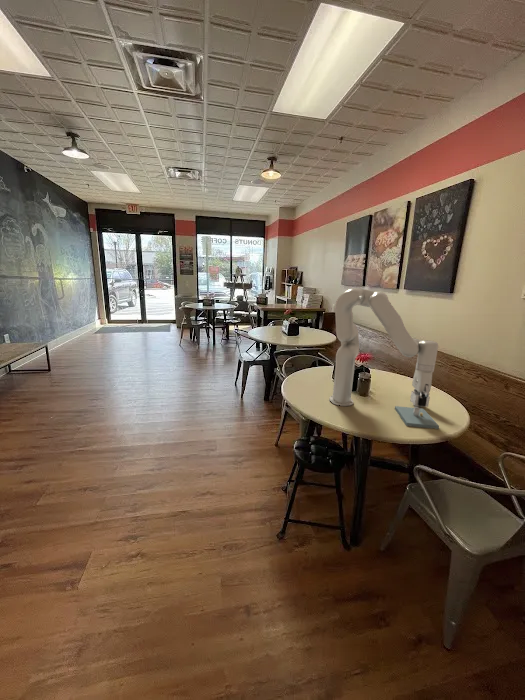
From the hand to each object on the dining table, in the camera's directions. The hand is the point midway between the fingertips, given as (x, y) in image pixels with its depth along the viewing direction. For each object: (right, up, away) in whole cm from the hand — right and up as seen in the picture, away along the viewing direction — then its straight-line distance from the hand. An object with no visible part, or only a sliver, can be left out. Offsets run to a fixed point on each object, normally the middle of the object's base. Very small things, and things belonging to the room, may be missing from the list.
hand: (418, 402), depth 140 cm
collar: (0, -1, 0) cm, 1 cm away
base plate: (-1, -8, +2) cm, 8 cm away
